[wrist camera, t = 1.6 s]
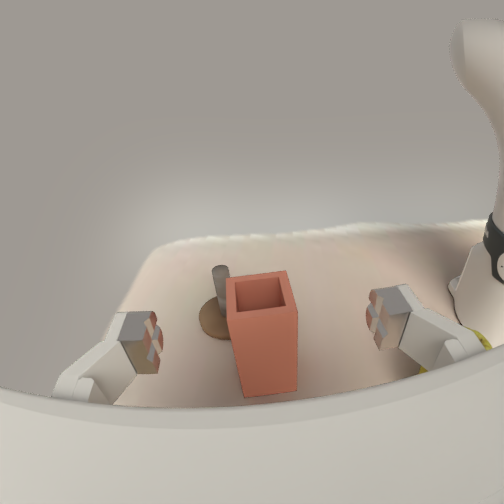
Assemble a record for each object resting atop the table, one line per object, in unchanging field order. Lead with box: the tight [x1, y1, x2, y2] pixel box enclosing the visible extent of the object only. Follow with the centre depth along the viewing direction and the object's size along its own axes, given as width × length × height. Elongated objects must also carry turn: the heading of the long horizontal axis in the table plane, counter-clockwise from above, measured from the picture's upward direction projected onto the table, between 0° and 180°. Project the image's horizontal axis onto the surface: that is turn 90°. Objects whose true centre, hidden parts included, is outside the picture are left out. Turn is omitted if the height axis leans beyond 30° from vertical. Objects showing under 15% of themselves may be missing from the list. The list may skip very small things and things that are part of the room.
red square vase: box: [226, 271, 298, 398], centre depth 29 cm, size 6×6×12 cm
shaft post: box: [199, 265, 231, 340], centre depth 39 cm, size 8×8×8 cm
